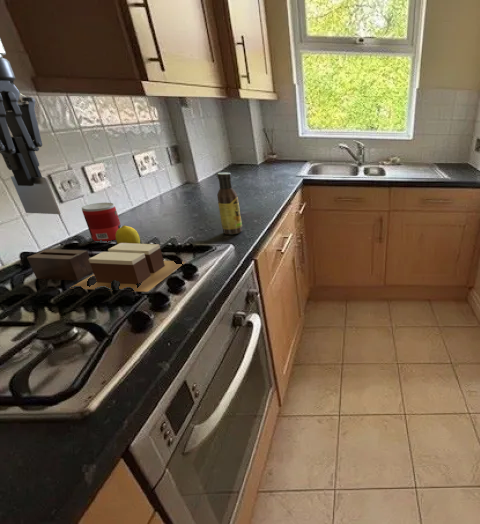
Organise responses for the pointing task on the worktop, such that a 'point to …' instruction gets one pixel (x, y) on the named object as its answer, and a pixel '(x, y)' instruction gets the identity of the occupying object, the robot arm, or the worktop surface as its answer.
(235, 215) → the sauce bottle
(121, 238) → the lemon
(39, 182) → the scraper
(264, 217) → the worktop surface
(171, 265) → the cutting board
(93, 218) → the canned food
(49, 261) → the knife block
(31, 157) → the robot arm
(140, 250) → the cake
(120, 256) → the cake
